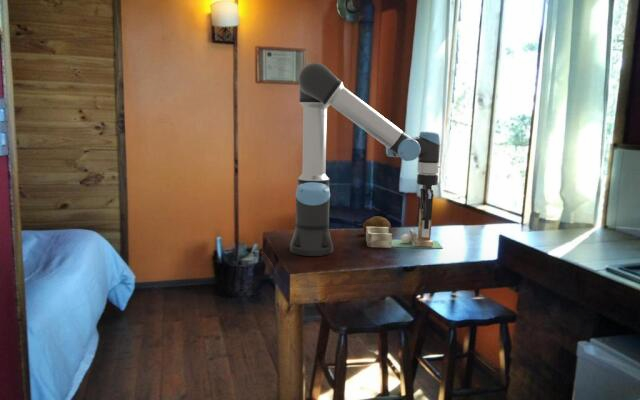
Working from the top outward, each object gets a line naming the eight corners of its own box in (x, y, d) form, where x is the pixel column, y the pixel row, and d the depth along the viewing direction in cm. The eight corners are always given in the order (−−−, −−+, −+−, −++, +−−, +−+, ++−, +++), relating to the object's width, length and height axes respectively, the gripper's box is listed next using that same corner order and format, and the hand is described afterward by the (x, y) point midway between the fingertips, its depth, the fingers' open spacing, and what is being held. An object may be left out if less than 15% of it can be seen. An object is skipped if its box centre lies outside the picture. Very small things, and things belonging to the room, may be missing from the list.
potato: (358, 234, 209) (358, 215, 208) (382, 231, 216) (383, 213, 214) (370, 238, 202) (371, 219, 201) (394, 235, 209) (395, 216, 208)
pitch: (372, 246, 190) (372, 245, 190) (369, 239, 201) (369, 238, 201) (442, 248, 190) (442, 247, 190) (437, 241, 200) (437, 240, 200)
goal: (367, 246, 189) (368, 233, 189) (365, 239, 201) (366, 226, 200) (391, 247, 189) (392, 234, 188) (387, 239, 201) (388, 227, 200)
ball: (401, 244, 193) (401, 235, 193) (400, 242, 197) (400, 232, 196) (410, 244, 193) (411, 235, 193) (409, 242, 197) (410, 233, 196)
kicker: (427, 240, 200) (429, 207, 198) (432, 246, 190) (435, 212, 188) (409, 239, 200) (411, 207, 198) (413, 246, 190) (415, 212, 188)
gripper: (442, 176, 182) (438, 241, 186) (433, 171, 199) (429, 230, 203) (421, 176, 182) (417, 240, 186) (413, 171, 199) (410, 230, 203)
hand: (424, 235), depth 194 cm, fingers closed on kicker, 4 cm apart
